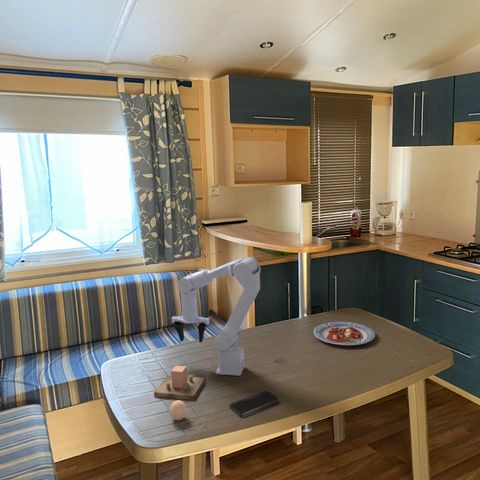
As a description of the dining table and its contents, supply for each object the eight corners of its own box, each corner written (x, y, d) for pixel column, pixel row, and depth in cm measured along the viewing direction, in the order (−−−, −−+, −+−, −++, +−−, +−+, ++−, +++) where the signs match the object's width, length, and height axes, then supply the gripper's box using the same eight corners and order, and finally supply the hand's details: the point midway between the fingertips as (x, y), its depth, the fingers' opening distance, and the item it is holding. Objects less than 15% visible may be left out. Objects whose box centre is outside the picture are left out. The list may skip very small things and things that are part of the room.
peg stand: (204, 382, 153) (204, 372, 153) (193, 400, 142) (193, 390, 141) (168, 379, 157) (167, 370, 156) (154, 396, 145) (153, 386, 145)
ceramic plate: (313, 325, 203) (313, 319, 202) (369, 326, 199) (370, 320, 199) (314, 349, 178) (314, 342, 177) (379, 350, 174) (379, 343, 174)
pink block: (187, 382, 150) (186, 366, 149) (183, 388, 147) (182, 371, 146) (176, 381, 151) (175, 365, 150) (172, 387, 148) (171, 371, 147)
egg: (189, 421, 130) (187, 403, 129) (172, 425, 128) (170, 407, 127) (185, 412, 135) (183, 395, 134) (168, 416, 133) (167, 398, 132)
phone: (280, 400, 138) (240, 415, 131) (280, 403, 138) (240, 419, 131) (266, 390, 145) (227, 404, 137) (266, 393, 145) (227, 407, 137)
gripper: (167, 309, 162) (169, 344, 164) (204, 311, 159) (206, 346, 161) (174, 303, 169) (176, 336, 171) (210, 305, 165) (212, 338, 168)
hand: (191, 340), depth 166 cm, fingers open, 7 cm apart
